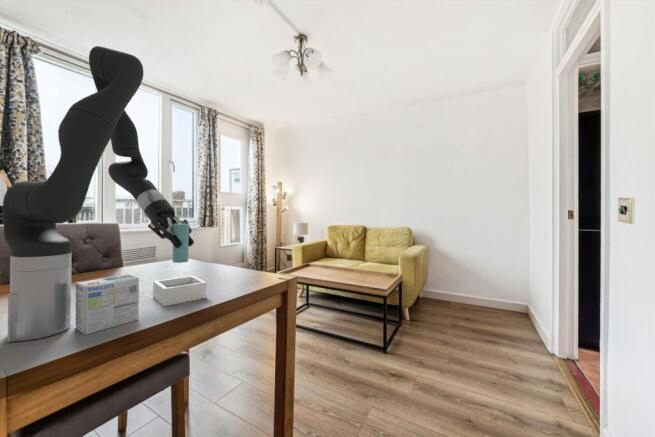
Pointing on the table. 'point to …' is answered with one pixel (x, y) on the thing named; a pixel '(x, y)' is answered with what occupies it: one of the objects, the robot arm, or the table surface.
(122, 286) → the light bulb box
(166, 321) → the table surface
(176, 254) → the peg
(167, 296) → the hole box
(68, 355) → the table surface
